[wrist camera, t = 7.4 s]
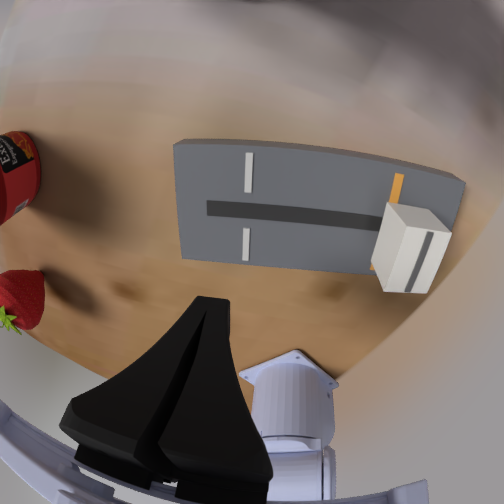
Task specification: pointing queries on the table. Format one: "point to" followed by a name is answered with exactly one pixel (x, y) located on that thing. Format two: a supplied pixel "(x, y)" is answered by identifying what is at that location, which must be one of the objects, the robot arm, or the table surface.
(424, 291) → the fader knob
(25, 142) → the canned food
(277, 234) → the fader board
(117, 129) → the table surface
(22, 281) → the strawberry
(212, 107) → the table surface
